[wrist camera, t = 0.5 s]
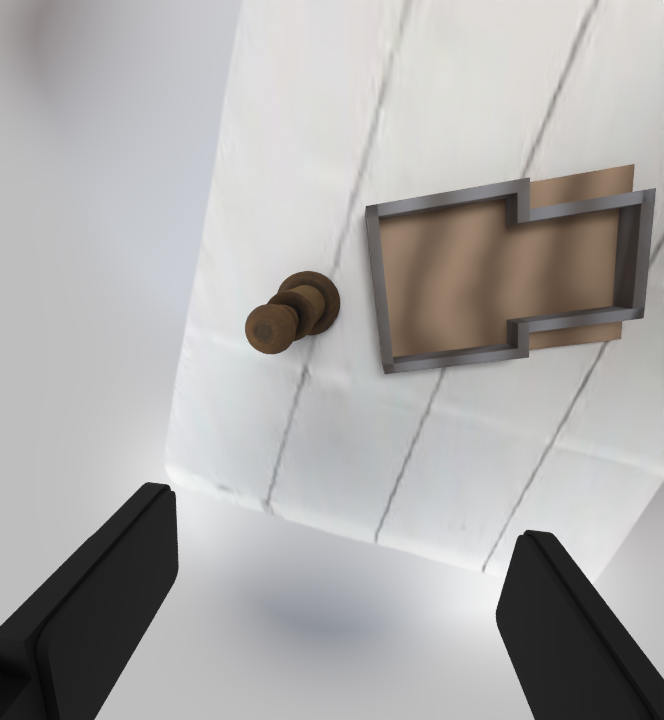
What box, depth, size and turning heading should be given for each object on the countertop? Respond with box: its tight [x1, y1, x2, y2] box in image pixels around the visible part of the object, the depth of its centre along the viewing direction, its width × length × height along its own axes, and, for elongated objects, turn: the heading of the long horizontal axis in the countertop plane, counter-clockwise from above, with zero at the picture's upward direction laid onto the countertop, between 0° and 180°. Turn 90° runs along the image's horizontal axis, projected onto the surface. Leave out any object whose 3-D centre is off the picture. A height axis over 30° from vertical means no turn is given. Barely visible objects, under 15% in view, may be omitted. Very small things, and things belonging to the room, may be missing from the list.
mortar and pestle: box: [245, 271, 340, 354], centre depth 27 cm, size 7×6×18 cm
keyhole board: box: [365, 164, 656, 374], centre depth 32 cm, size 24×16×4 cm, turn 98°
